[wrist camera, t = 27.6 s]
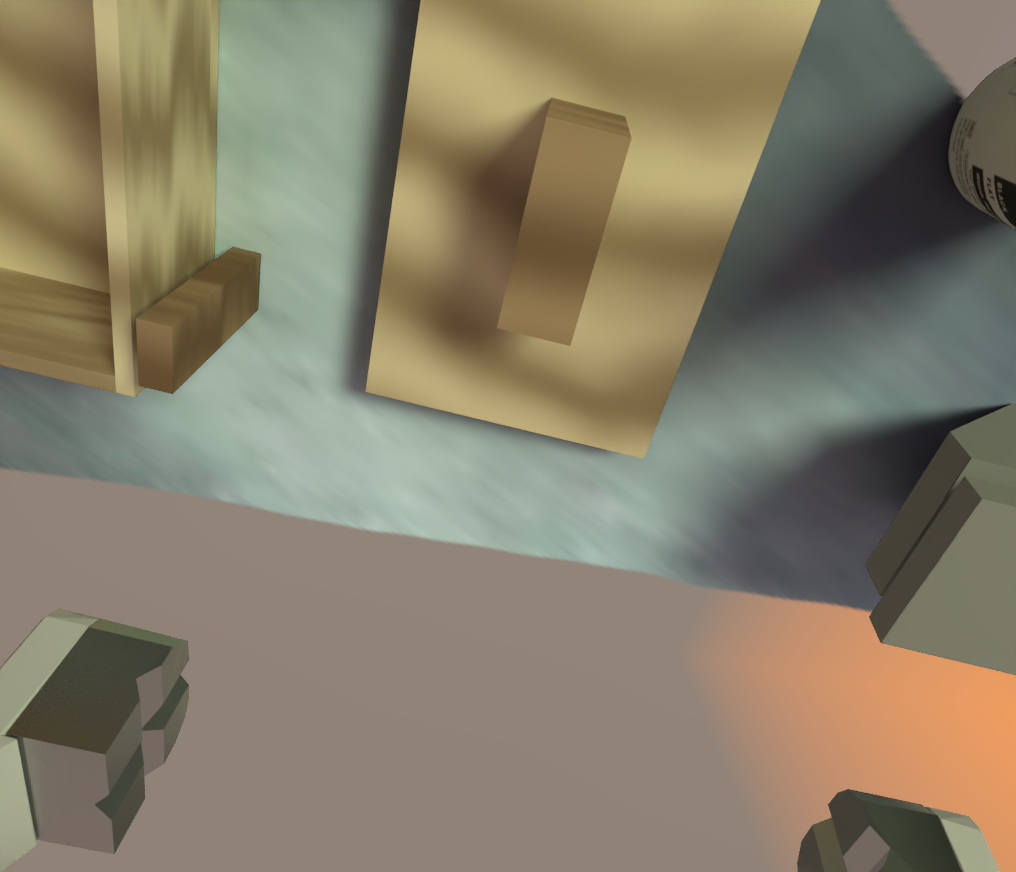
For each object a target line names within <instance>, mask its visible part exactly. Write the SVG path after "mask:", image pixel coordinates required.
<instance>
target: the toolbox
mask: <svg viewBox="0 0 1016 872" xmlns="http://www.w3.org/2000/svg"><path fill="white" fill-rule="evenodd" d="M218 38H219V0H0V365H2V366H6V367H10V368H14V369H18V370H23V371H27V372H31V373H35V374H40V375H44V376H48V377H52V378H56V379H61V380H65V381H69V382H73V383H77V384H82V385H86V386H90V387H94V388H98V389H103V390H107V391H111V392H115V393H119V394H124V395H128V396H132V397H135V396H136V395H137V394H138V393H140V392H141V391H142V390H143V389H144V388H145V387H146V388H150V389H154V390H159V391H163V392H167V393H171V394H173V393H174V392H175V391H176V390H177V389H178V388H179V387H180V386H181V385H182V384H183V383H184V382H185V381H186V380H187V379H188V378H189V377H190V376H191V375H192V374H193V373H194V372H195V371H196V370H197V369H198V368H199V367H200V366H202V365H203V364H204V363H205V362H206V361H207V360H208V359H209V358H210V357H211V356H212V355H213V354H214V353H215V352H216V351H217V350H218V349H219V348H220V347H221V346H222V345H223V344H224V343H225V342H226V341H227V340H228V339H229V338H230V337H231V336H232V335H233V334H234V333H235V332H236V331H237V330H238V329H239V328H240V327H241V326H242V325H243V324H244V323H245V322H246V321H247V320H248V319H249V318H250V317H251V316H252V315H253V314H254V313H255V312H256V311H257V310H258V302H259V282H260V263H261V254H259V253H255V252H251V251H247V250H243V249H239V248H235V247H232V248H231V249H229V250H228V251H227V252H225V253H224V254H223V255H221V256H220V257H219V258H217V259H216V260H215V261H214V259H215V204H216V148H217V93H218Z"/></svg>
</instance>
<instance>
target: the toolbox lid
mask: <svg viewBox="0 0 1016 872" xmlns="http://www.w3.org/2000/svg"><path fill="white" fill-rule="evenodd" d="M820 1H821V0H421V1H420V8H419V15H418V23H417V30H416V37H415V44H414V51H413V58H412V65H411V72H410V79H409V86H408V93H407V100H406V108H405V115H404V122H403V129H402V136H401V143H400V150H399V157H398V164H397V171H396V178H395V185H394V193H393V200H392V207H391V214H390V221H389V228H388V235H387V242H386V249H385V256H384V263H383V271H382V278H381V285H380V292H379V299H378V306H377V313H376V320H375V327H374V334H373V341H372V348H371V356H370V363H369V370H368V377H367V384H366V391H365V392H368V393H372V394H376V395H381V396H385V397H389V398H393V399H397V400H401V401H406V402H410V403H414V404H418V405H422V406H426V407H430V408H435V409H439V410H443V411H447V412H451V413H455V414H460V415H464V416H468V417H472V418H476V419H480V420H484V421H489V422H493V423H497V424H501V425H505V426H509V427H514V428H518V429H522V430H526V431H530V432H534V433H538V434H543V435H547V436H551V437H555V438H559V439H563V440H568V441H572V442H576V443H580V444H584V445H588V446H592V447H597V448H601V449H605V450H609V451H613V452H617V453H622V454H626V455H630V456H634V457H638V458H642V459H644V457H645V455H646V452H647V449H648V447H649V444H650V442H651V439H652V436H653V434H654V431H655V429H656V426H657V423H658V421H659V418H660V416H661V413H662V410H663V408H664V405H665V403H666V400H667V397H668V395H669V392H670V390H671V387H672V384H673V382H674V379H675V377H676V374H677V372H678V369H679V366H680V364H681V361H682V359H683V356H684V353H685V351H686V348H687V346H688V343H689V340H690V338H691V335H692V333H693V330H694V327H695V325H696V322H697V320H698V317H699V314H700V312H701V309H702V307H703V304H704V302H705V299H706V296H707V294H708V291H709V289H710V286H711V283H712V281H713V278H714V276H715V273H716V270H717V268H718V265H719V263H720V260H721V257H722V255H723V252H724V250H725V247H726V244H727V242H728V239H729V237H730V234H731V231H732V229H733V226H734V224H735V221H736V219H737V216H738V213H739V211H740V208H741V206H742V203H743V200H744V198H745V195H746V193H747V190H748V187H749V185H750V182H751V180H752V177H753V174H754V172H755V169H756V167H757V164H758V161H759V159H760V156H761V154H762V151H763V148H764V146H765V143H766V141H767V138H768V136H769V133H770V130H771V128H772V125H773V123H774V120H775V117H776V115H777V112H778V110H779V107H780V104H781V102H782V99H783V97H784V94H785V91H786V89H787V86H788V84H789V81H790V78H791V76H792V73H793V71H794V68H795V65H796V63H797V60H798V58H799V55H800V53H801V50H802V47H803V45H804V42H805V40H806V37H807V34H808V32H809V29H810V27H811V24H812V21H813V19H814V16H815V14H816V11H817V8H818V6H819V3H820Z"/></svg>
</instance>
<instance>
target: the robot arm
mask: <svg viewBox="0 0 1016 872" xmlns="http://www.w3.org/2000/svg"><path fill="white" fill-rule="evenodd" d="M188 660H189V654H188V641H186V640H182V639H178V638H174V637H170V636H166V635H163V634H159V633H155V632H151V631H147V630H143V629H139V628H135V627H131V626H127V625H123V624H120V623H116V622H112V621H108V620H104V619H100V618H95V617H91V616H87V615H83V614H79V613H74V612H70V611H66V610H62V609H57V610H56V611H54V612H52V613H51V614H49V615H48V616H46V617H45V618H43V619H42V620H41V621H40V622H39V624H38V625H37V626H36V627H35V628H34V629H33V631H32V632H31V633H30V634H29V635H28V636H27V638H26V639H25V640H24V641H23V642H22V643H21V644H20V645H19V647H18V648H17V649H16V650H15V651H14V652H13V654H12V655H11V656H10V657H9V658H8V659H7V661H6V662H5V663H4V664H3V665H2V666H1V667H0V872H1V871H3V870H4V869H5V868H7V867H8V866H9V865H11V864H12V863H13V862H15V861H16V860H17V859H19V858H20V857H21V856H22V855H24V854H25V853H27V852H28V851H29V850H31V849H32V848H33V847H34V846H36V844H37V842H36V840H42V841H46V842H52V843H57V844H63V845H68V846H73V847H79V848H84V849H89V850H95V851H100V852H106V853H112V854H115V852H116V850H117V848H118V847H119V845H120V843H121V841H122V839H123V838H124V835H125V834H126V832H127V830H128V829H129V827H130V825H131V823H132V821H133V819H134V817H135V816H136V814H137V812H138V810H139V809H140V807H141V805H142V803H143V801H144V799H145V785H144V783H145V782H144V776H145V775H147V774H148V773H150V772H151V771H153V770H155V769H156V768H158V767H159V766H161V765H162V764H164V762H165V761H166V759H167V757H168V755H169V753H170V751H171V749H172V748H173V746H174V744H175V742H176V739H177V737H178V734H179V731H180V729H181V726H182V723H183V721H184V718H185V713H186V708H187V704H188V697H189V685H188V683H187V682H186V681H185V680H184V678H183V677H182V676H181V675H180V674H181V673H182V671H183V669H184V667H185V666H186V664H187V662H188ZM828 806H829V809H830V813H831V816H832V818H829V819H827V820H824V821H822V822H819V823H817V824H814V825H813V826H811V828H810V829H809V831H808V832H807V834H806V835H805V837H804V838H803V840H802V841H801V847H800V852H799V857H798V862H797V866H798V872H1000V870H999V868H998V866H997V864H996V861H995V859H994V857H993V855H992V853H991V851H990V849H989V847H988V845H987V843H986V840H985V838H984V836H983V834H982V832H981V830H980V828H979V827H978V826H977V825H976V824H975V823H974V822H973V820H972V819H971V818H970V817H968V816H964V815H960V814H957V813H952V812H948V811H943V810H938V809H934V808H929V807H924V806H923V805H921V804H916V803H911V802H907V801H902V800H897V799H892V798H887V797H883V796H878V795H873V794H869V793H863V792H859V791H855V790H850V789H847V790H844V791H842V792H838V793H837V794H836V795H835V797H834V798H833V799H832V800H831V802H830V803H829V804H828Z"/></svg>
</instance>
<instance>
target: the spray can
mask: <svg viewBox="0 0 1016 872" xmlns="http://www.w3.org/2000/svg"><path fill="white" fill-rule="evenodd" d="M948 161H949V169H950V172H951V175H952V177H953V180H954V183H955V185H956V187H957V188H958V190H959V191H960V193H961V194H962V195H963V196H964V198H965V199H966V200H967V201H969V202H970V203H971V204H972V205H974V206H975V207H977V208H978V209H980V210H981V211H983V212H985V213H987V214H988V215H990V216H992V217H993V218H995V219H997V220H999V221H1001V222H1004V223H1005V224H1007V225H1008V226H1010V227H1012V228H1014V229H1016V58H1014V59H1012V60H1010V61H1009V62H1007V63H1006V64H1004V65H1002V66H1001V67H999V68H998V69H996V70H994V71H993V72H992V73H991V74H990V75H988V76H987V77H986V78H985V79H984V80H983V81H982V82H981V83H980V84H979V85H978V86H977V87H976V89H975V90H974V91H973V92H972V93H971V94H970V95H969V96H968V97H967V98H966V100H965V101H964V103H963V104H962V106H961V109H960V111H959V113H958V115H957V118H956V120H955V122H954V125H953V129H952V132H951V137H950V144H949V150H948Z"/></svg>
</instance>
